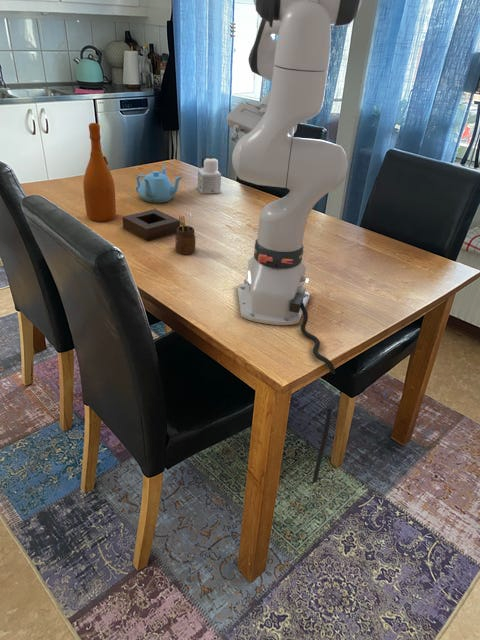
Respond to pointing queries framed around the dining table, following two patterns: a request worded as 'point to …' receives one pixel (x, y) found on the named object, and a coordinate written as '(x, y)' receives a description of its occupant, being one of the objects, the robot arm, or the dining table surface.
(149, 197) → the teapot
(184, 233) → the utensil holder
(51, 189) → the dining table surface
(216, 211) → the dining table surface
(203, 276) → the dining table surface
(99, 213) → the wine bottle
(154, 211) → the socket block
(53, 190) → the dining table surface
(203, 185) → the container
